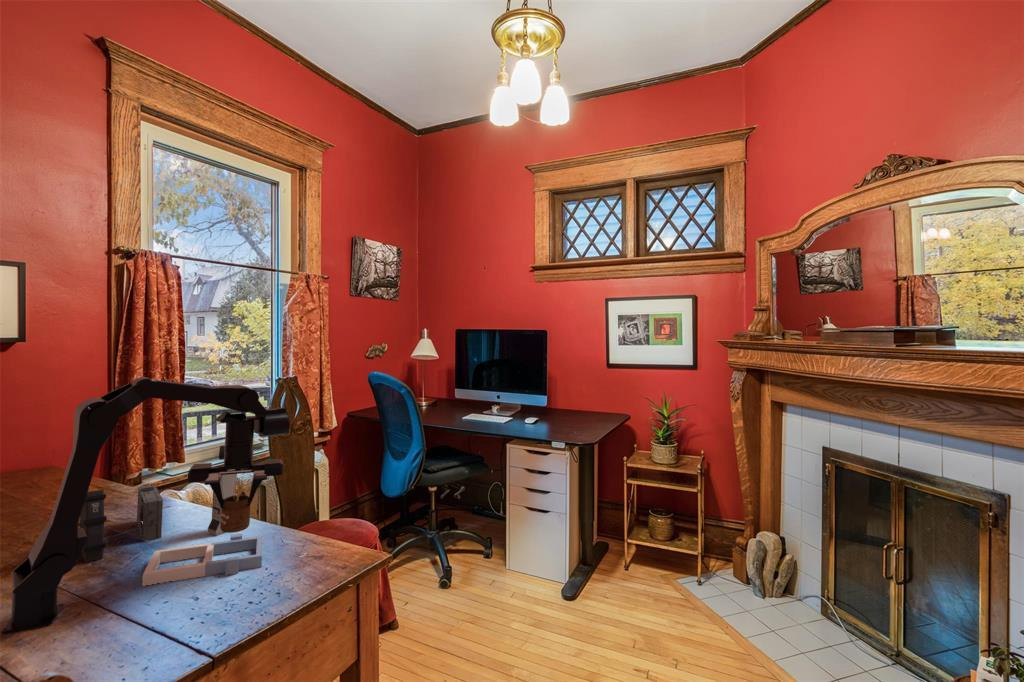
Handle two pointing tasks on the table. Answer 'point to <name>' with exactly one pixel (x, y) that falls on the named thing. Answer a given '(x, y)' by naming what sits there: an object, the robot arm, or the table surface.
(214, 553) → the beige grey rectangular frame
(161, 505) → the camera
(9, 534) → the table surface
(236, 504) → the utensil holder
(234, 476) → the vintage mobile phone
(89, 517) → the dark ridged block
